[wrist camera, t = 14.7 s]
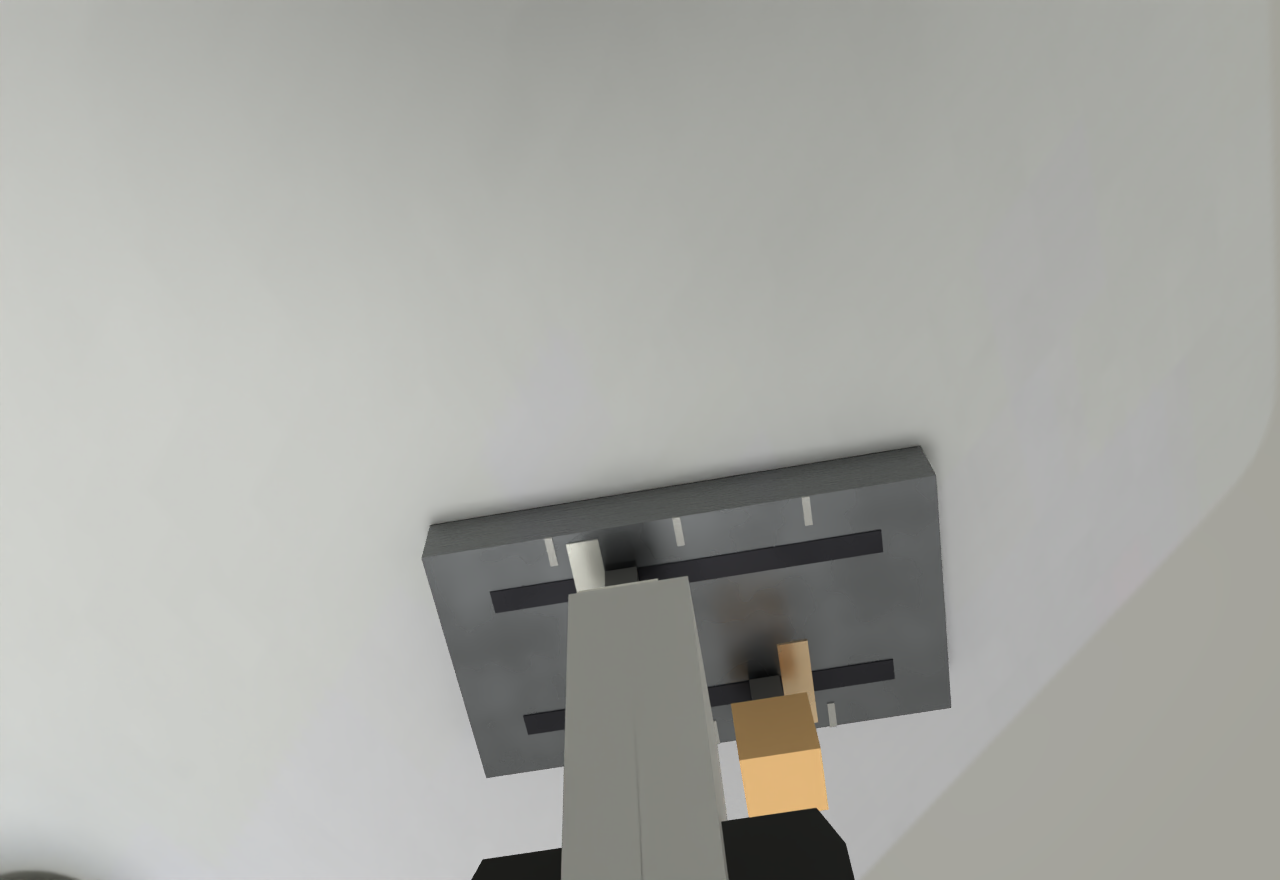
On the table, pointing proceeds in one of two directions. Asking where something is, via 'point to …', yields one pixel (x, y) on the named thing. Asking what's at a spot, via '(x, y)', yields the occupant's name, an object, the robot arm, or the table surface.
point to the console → (708, 595)
